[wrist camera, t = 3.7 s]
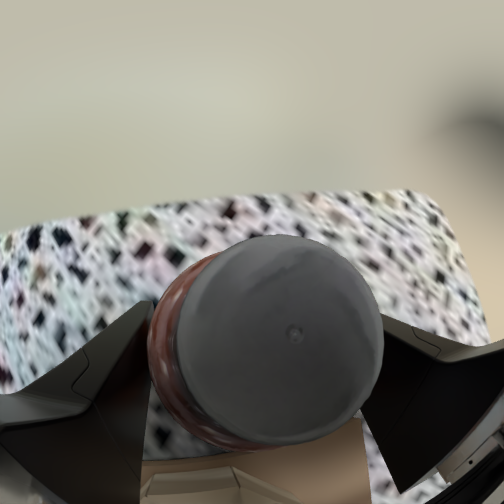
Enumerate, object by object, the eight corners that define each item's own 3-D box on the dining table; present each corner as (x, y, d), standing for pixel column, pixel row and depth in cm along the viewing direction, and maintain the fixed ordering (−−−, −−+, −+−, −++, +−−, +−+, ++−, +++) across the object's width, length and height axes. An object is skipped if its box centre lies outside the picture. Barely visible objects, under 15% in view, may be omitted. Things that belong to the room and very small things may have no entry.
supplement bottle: (148, 363, 14) (48, 336, 4) (217, 288, 16) (259, 143, 6) (233, 431, 13) (315, 533, 3) (296, 352, 16) (448, 302, 5)
